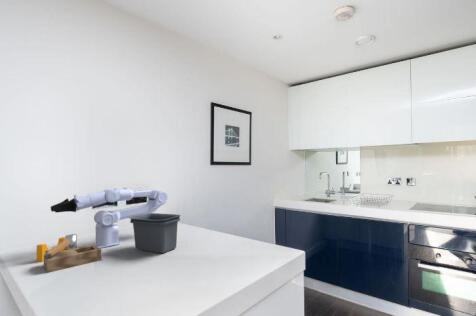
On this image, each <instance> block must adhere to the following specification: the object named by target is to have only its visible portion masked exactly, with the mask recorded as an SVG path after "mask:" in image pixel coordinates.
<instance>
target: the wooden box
mask: <svg viewBox="0 0 476 316" xmlns="http://www.w3.org/2000/svg"><path fill="white" fill-rule="evenodd" d="M48 251H49V249H48ZM48 251H45V253H46V252H48ZM100 261H102V248H98V247H97V246H96V245H93V244H89V245H86V246H85V245H84V246H81V247H80V246H79V247H77V248H74V249H69V250H64V251H59V252H57V253H55V254H54V255H52V256H51V254H47V257H46V255H45V254H44V261H43V266H44V268H45V270H46V273H51V272H52V273H53V272H56V271H61V270H64V269H69V268H73V267H77V266H82V265H85V264H90V263H96V262H100Z"/></svg>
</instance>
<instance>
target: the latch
mask: <svg viewBox="0 0 476 316" xmlns="http://www.w3.org/2000/svg"><path fill="white" fill-rule="evenodd" d="M70 243H71V242H70V240H69V239H66V240H65V241H63V242H62V243H60V244H59V245H57V244H56V245H55V246H56V247H54V246H53V247H54V248H53V249H51V248H50V249H51V250H50V251H48V252H46V253H45V255H46V257H47V254H51V256H52V255H54V254H55V253H57V252H58V251H60V250H61V249H62V248H64V247H65V246H67V245H68V244H70Z"/></svg>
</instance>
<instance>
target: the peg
mask: <svg viewBox="0 0 476 316" xmlns="http://www.w3.org/2000/svg"><path fill="white" fill-rule="evenodd" d="M77 235H78V234H77V233H72V234H67V235H65V240H66V239H69V240H70V242H71V243H70V244H68V245H67V246H65V250H69V249H74V248H78V245H77V244H78V243H77V240H78V239H77V237H78V236H77Z"/></svg>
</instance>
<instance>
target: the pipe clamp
mask: <svg viewBox="0 0 476 316" xmlns="http://www.w3.org/2000/svg"><path fill="white" fill-rule="evenodd" d="M63 241H65V237H63V236H62V237H59V238H58V242H57V244H56V245H54V246H52V247H50V248H49V249H48V245H47V243H39V244H37V245H36V262H37V263H44V254H45V251H48V250H49V251H50V250H51V249H53V248H54V247H56V246H57V245H59V244H60V243H62V242H63ZM64 250H65V247H64V248H62V249H61V250H60V251H64ZM58 252H59V251H58Z"/></svg>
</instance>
